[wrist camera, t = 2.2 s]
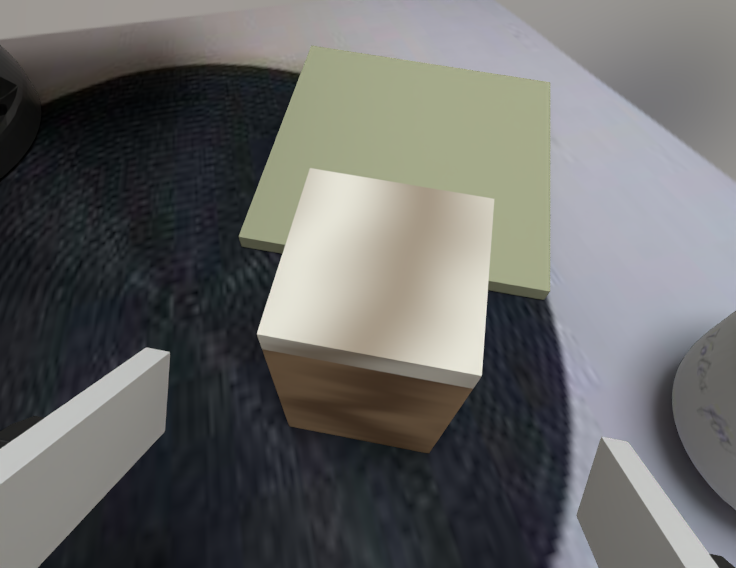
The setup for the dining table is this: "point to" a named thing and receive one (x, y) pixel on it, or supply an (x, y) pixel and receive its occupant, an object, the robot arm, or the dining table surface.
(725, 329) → the teacup
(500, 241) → the olive mat
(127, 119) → the dining table surface
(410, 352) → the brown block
